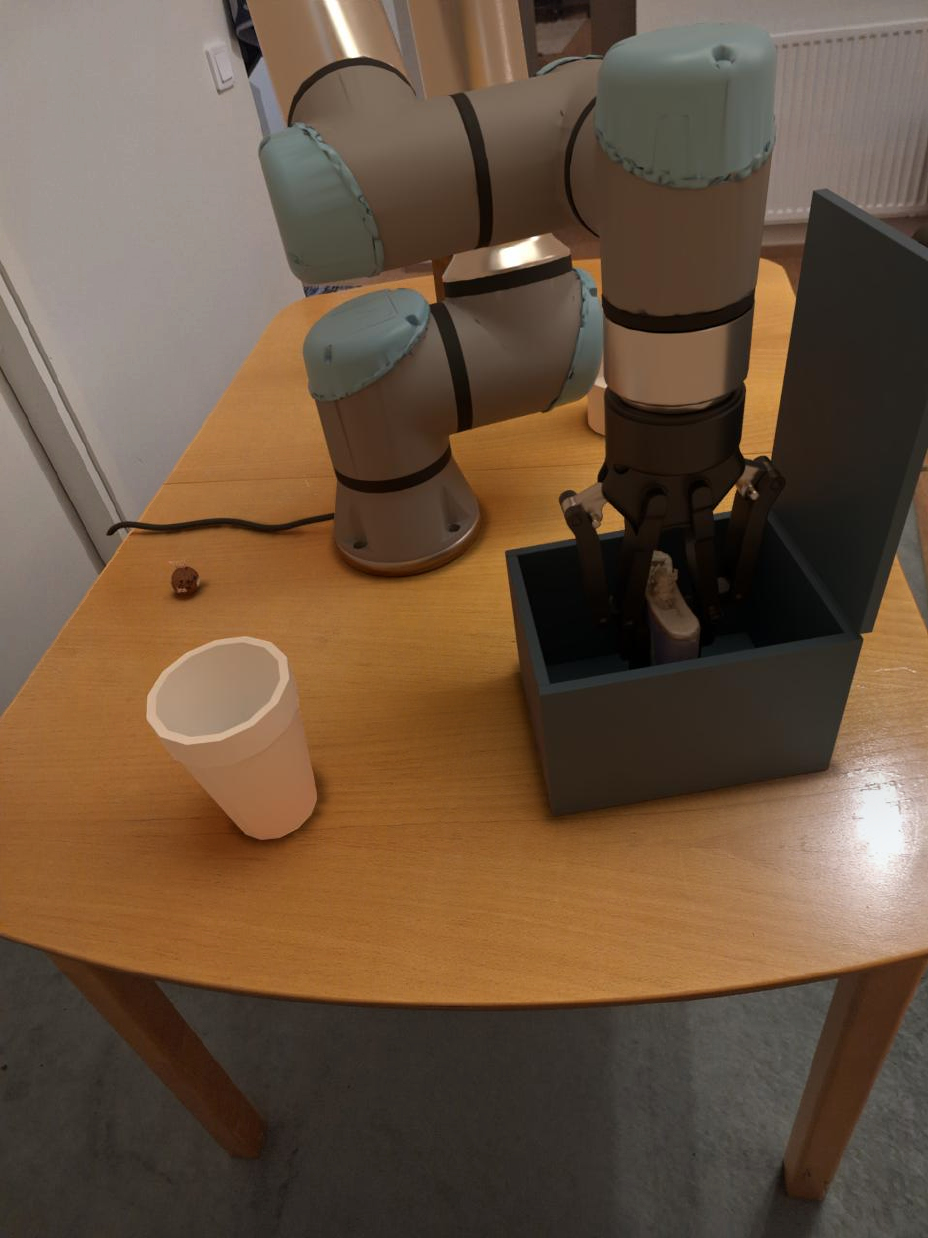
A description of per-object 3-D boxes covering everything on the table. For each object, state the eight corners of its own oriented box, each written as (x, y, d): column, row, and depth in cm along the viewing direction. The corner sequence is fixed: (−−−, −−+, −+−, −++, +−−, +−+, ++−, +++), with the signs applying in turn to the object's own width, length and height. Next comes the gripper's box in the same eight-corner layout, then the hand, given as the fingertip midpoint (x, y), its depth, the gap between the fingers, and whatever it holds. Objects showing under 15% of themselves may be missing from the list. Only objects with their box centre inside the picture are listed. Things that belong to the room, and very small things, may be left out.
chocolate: (171, 601, 81) (156, 571, 79) (177, 587, 83) (162, 557, 80) (200, 598, 81) (185, 567, 78) (205, 584, 83) (191, 553, 80)
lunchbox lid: (961, 281, 34) (1109, 257, 34) (812, 189, 45) (924, 171, 45) (859, 634, 48) (964, 617, 48) (764, 499, 59) (849, 485, 59)
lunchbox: (553, 817, 57) (539, 695, 48) (520, 670, 68) (504, 550, 59) (828, 769, 56) (864, 639, 48) (751, 630, 67) (769, 503, 59)
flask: (701, 724, 56) (707, 610, 49) (659, 732, 56) (659, 619, 49) (665, 635, 63) (665, 524, 56) (627, 642, 63) (623, 532, 56)
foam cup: (342, 747, 64) (298, 629, 55) (332, 850, 57) (279, 733, 48) (226, 761, 65) (164, 646, 56) (202, 864, 58) (127, 751, 49)
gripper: (792, 327, 46) (751, 626, 62) (517, 377, 46) (546, 662, 62) (853, 385, 41) (791, 697, 56) (540, 441, 41) (565, 736, 56)
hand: (662, 678), depth 59 cm, fingers closed on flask, 3 cm apart
